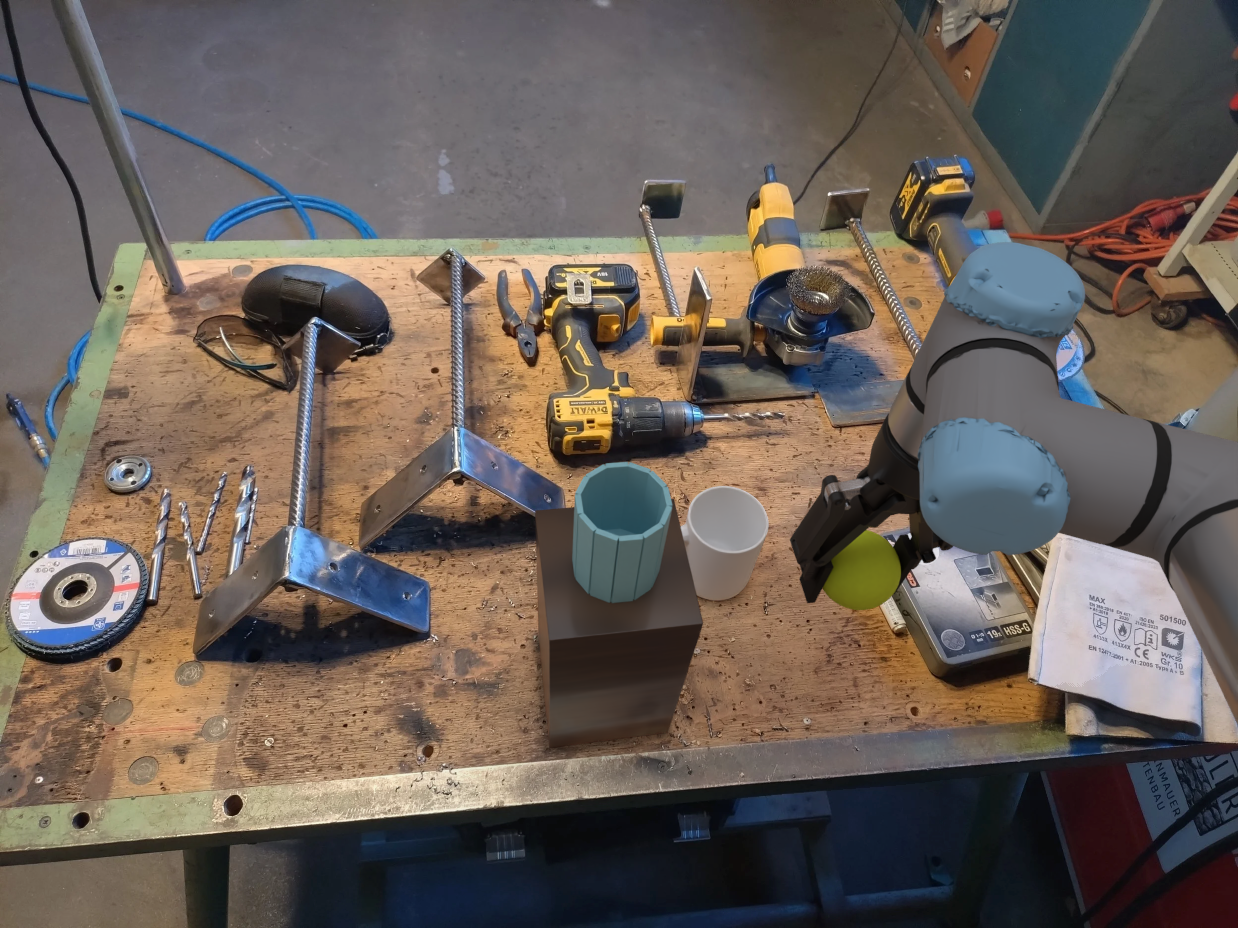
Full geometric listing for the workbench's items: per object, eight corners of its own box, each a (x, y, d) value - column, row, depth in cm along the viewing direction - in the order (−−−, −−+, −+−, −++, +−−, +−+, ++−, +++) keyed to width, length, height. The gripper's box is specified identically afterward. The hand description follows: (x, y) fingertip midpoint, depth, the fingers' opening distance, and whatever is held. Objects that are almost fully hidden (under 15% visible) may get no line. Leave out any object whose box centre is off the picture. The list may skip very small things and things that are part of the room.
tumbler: (665, 597, 63) (679, 535, 56) (578, 606, 62) (582, 544, 55) (650, 525, 68) (661, 458, 60) (568, 532, 67) (570, 465, 59)
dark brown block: (668, 732, 81) (703, 623, 62) (549, 748, 79) (548, 640, 60) (647, 625, 88) (674, 498, 69) (538, 637, 87) (535, 510, 68)
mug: (640, 545, 95) (649, 492, 86) (738, 535, 96) (756, 481, 88) (654, 610, 89) (665, 560, 81) (757, 598, 91) (778, 548, 83)
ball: (896, 620, 77) (926, 579, 71) (821, 628, 76) (844, 587, 70) (869, 553, 82) (895, 509, 76) (798, 560, 80) (818, 516, 75)
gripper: (1034, 389, 65) (928, 545, 82) (792, 406, 62) (737, 563, 79) (1081, 462, 60) (958, 610, 78) (822, 483, 57) (756, 632, 75)
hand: (846, 586), depth 79 cm, fingers closed on ball, 7 cm apart
